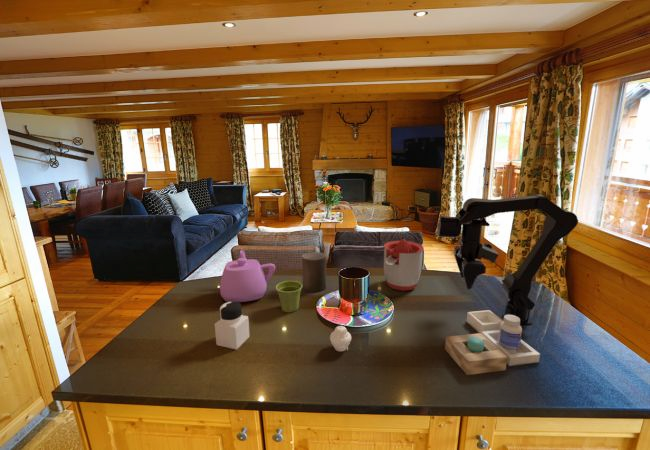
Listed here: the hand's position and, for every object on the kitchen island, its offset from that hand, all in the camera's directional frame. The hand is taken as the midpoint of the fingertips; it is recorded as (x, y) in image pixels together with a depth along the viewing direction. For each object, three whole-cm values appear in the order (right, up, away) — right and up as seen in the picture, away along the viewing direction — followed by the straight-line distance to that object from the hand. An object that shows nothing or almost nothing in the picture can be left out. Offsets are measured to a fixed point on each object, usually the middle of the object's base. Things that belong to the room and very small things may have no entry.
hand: (465, 282), depth 110 cm
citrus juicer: (-16, -6, +26) cm, 31 cm away
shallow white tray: (+5, -16, -16) cm, 23 cm away
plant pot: (-60, -11, +8) cm, 61 cm away
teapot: (-79, -8, +19) cm, 81 cm away
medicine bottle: (-75, -16, -11) cm, 77 cm away
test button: (-6, -16, -20) cm, 26 cm away
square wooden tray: (-6, -17, -20) cm, 27 cm away
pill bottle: (+5, -16, -16) cm, 23 cm away
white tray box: (+4, -13, -4) cm, 15 cm away
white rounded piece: (-43, -17, -14) cm, 48 cm away
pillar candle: (-51, -6, +25) cm, 58 cm away
